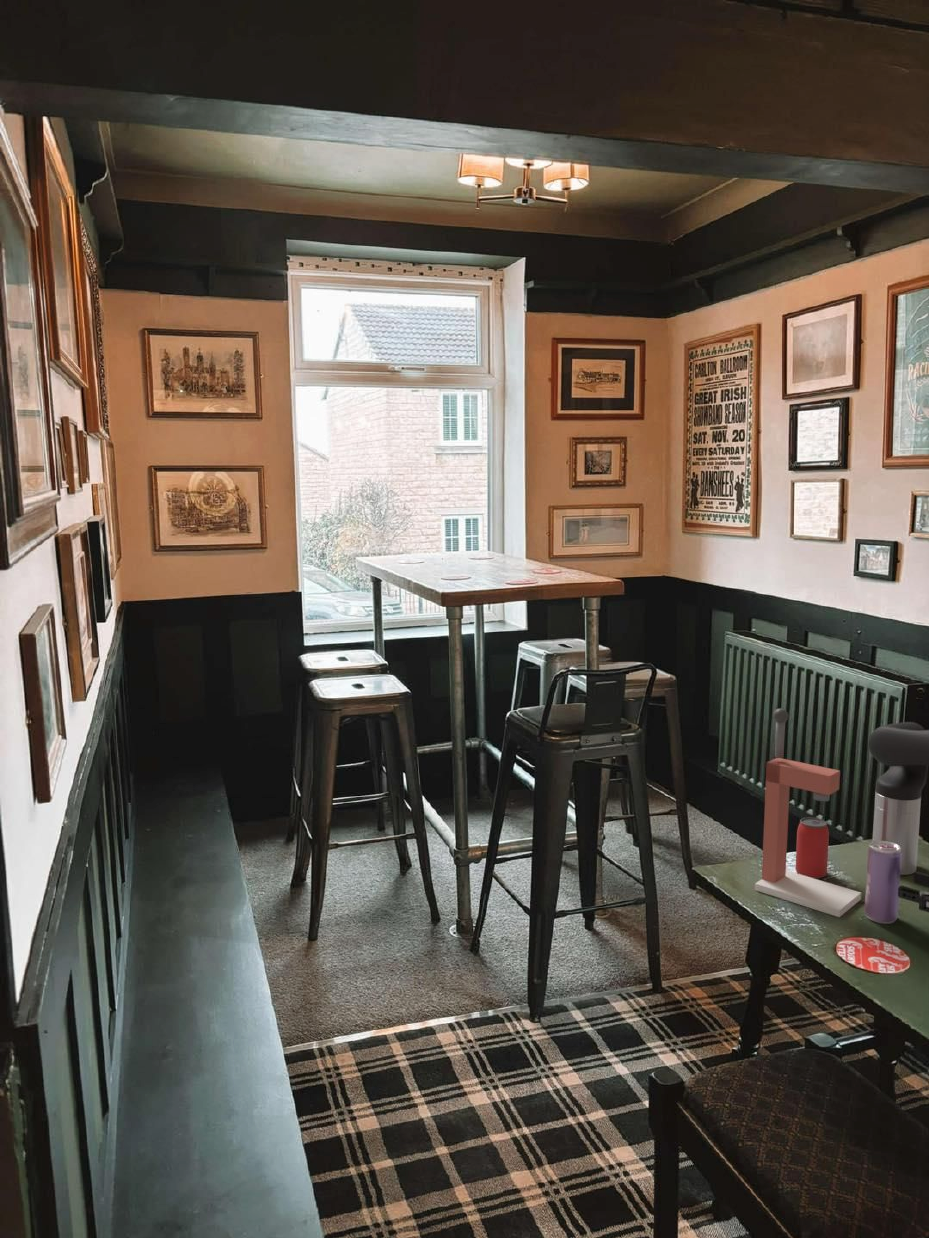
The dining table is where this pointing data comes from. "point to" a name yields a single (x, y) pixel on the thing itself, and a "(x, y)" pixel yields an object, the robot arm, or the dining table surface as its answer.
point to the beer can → (812, 848)
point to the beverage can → (882, 882)
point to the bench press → (776, 830)
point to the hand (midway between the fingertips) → (906, 883)
